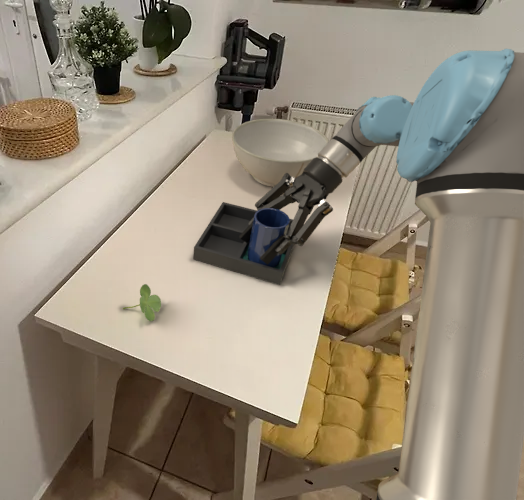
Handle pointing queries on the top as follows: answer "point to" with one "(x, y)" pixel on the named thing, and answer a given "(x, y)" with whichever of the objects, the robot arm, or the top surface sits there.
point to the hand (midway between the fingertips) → (253, 250)
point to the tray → (235, 245)
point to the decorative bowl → (276, 148)
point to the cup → (267, 234)
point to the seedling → (148, 303)
